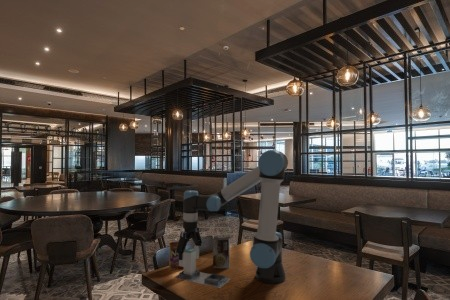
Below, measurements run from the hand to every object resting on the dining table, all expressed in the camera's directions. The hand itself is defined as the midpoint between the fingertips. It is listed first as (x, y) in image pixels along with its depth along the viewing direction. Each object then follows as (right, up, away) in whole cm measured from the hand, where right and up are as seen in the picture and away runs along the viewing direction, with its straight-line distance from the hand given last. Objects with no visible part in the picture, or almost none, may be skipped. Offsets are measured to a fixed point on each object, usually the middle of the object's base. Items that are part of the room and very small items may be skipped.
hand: (189, 262), depth 146 cm
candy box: (-8, -8, +9) cm, 14 cm away
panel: (+7, -7, -4) cm, 11 cm away
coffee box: (+16, -8, +13) cm, 22 cm away
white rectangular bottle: (0, -7, 0) cm, 7 cm away
